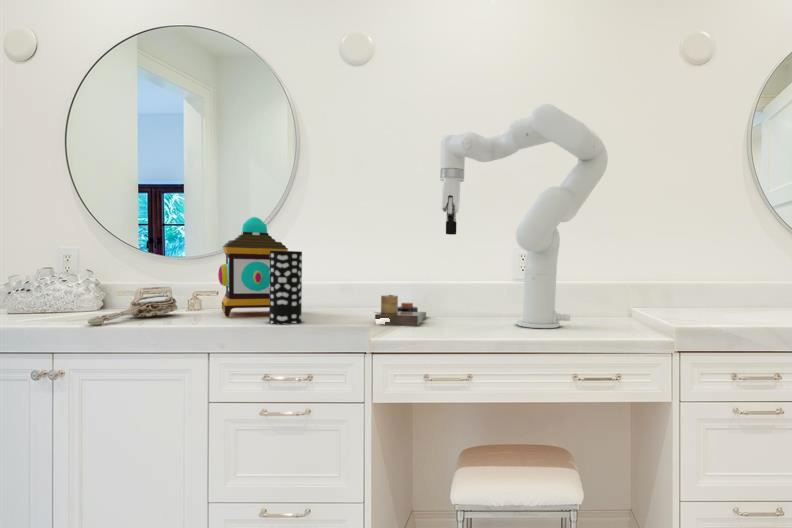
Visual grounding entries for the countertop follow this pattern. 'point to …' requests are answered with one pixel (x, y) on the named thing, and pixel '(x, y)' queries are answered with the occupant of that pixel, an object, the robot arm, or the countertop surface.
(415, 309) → the button block
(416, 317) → the panel
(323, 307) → the countertop surface
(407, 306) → the button
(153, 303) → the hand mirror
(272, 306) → the white-spotted black cylinder
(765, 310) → the countertop surface
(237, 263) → the decorative lantern
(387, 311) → the knob
